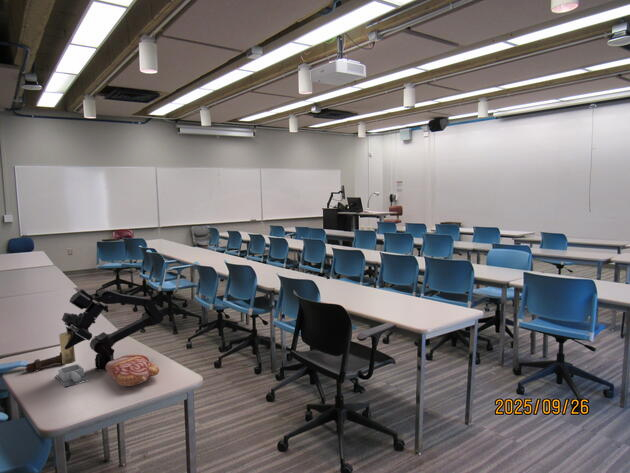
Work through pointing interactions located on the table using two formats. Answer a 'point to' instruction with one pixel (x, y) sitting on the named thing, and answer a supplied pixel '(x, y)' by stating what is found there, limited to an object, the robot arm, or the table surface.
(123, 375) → the anatomical model
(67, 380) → the manifold
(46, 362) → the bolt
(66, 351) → the gold metallic cylinder
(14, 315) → the table surface
